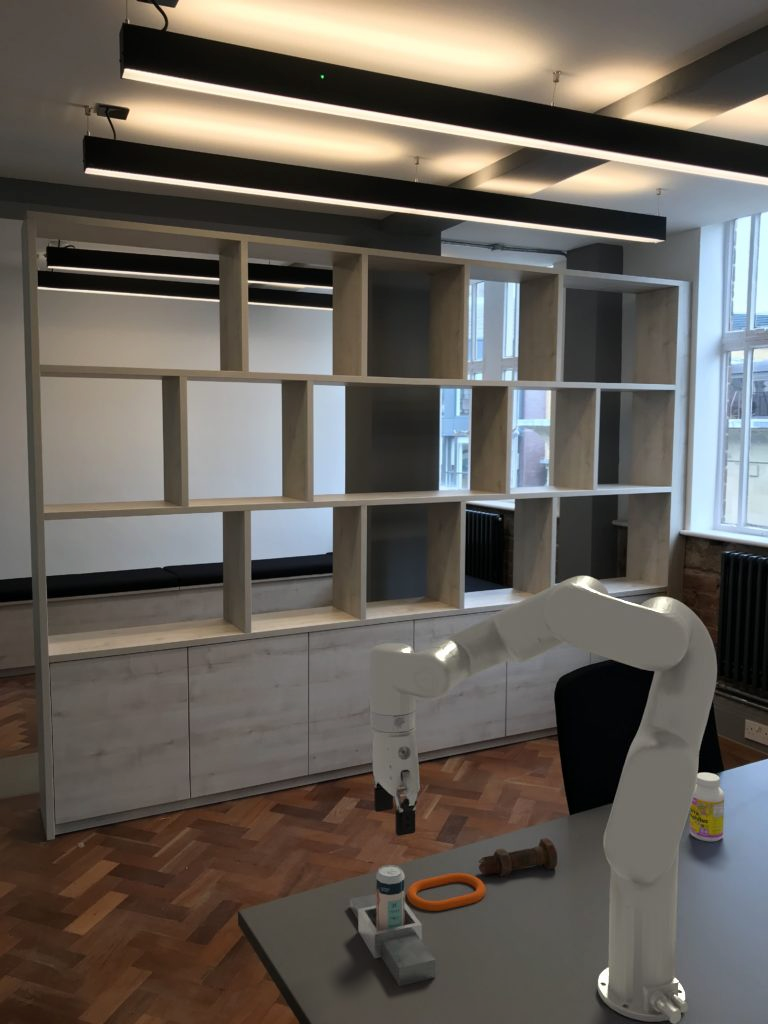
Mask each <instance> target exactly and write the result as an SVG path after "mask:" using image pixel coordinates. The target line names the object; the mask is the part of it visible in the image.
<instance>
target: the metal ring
mask: <svg viewBox="0 0 768 1024" xmlns="http://www.w3.org/2000/svg"><path fill="white" fill-rule="evenodd" d="M452 883H463V884H468V885H471V886H473V888H475V891H474V892H471V893H467V894H463V895H459V896H455V897H451V898H446V899H442V900H426V899H424V898H421V897H419V896H418V895H417V893H418V892H420V891H423V890H425V889H426V890H427V889H430V888H434V887H439V886H443V885H448V884H452ZM486 890H487V889H486V885H485V883H484V882H483V881H482V880H481V879H480V878H478V877H476V876H474V875H472V874H469V873H464V872H463V873H462V872H454V873H453V872H452V873H447V874H443V875H442V874H441V875H438V876H433V877H430V878H423V879H420V880H417V881H415V882H413V883H412V884H411V885H410V886H409V887H408V889H407V890H406V891H407V892H406V898H407V900H408V902H409V903H410V904H411V905H413V906H414V907H416V908H417V909H420V910H423V911H430V912H441V911H446V910H450V909H454V908H458V907H462V906H463V907H464V906H467V905H471V904H474V903H477V902H479V901H481V900H482V899H484V897H485V895H486V892H487V891H486Z"/></svg>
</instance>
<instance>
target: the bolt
mask: <svg viewBox="0 0 768 1024" xmlns="http://www.w3.org/2000/svg"><path fill="white" fill-rule="evenodd" d="M478 863H480V864H479V865H478V870H479V871H480V873H481V874H482V875H484V876H485V875H486V876H487V875H491V874H493V875H494V874H498V873H499V874H500V875H502V876H501V877H504V876H503V875H507V876H510V874H511V873H512V871H513V870H517V869H518V870H519V869H524V868H528V867H533V866H542V865H543V864H544V865H545V866H546V867H547V868H548V869H549V870H554V869H556V867H557V866H558V853H557V848H556V847H555V844H554V842H553V841H552V840H551V839H549V838H548V837H545V838H540V840H539V843H538V846H537V845H536V846H534V847H531V848H530V847H529V848H524V849H519V850H515V851H509V852H508V851H507V850H506V849H504V848H498V849H497V848H496V850H495V851H494V853H493V855H489V856H488V855H487V856H484V857H482V858H480V859H479V860H478ZM544 865H543V866H544ZM545 866H544V867H545ZM546 867H545V868H546ZM547 868H546V869H547ZM553 868H554V869H553ZM548 869H547V870H548ZM499 874H498V875H499ZM500 875H499V876H500Z"/></svg>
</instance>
